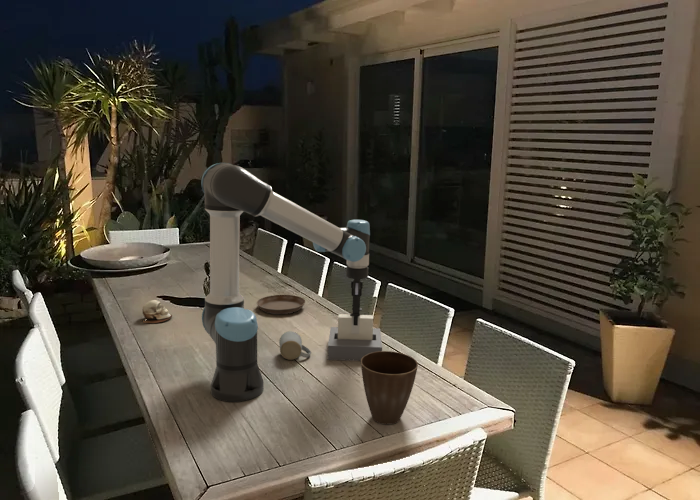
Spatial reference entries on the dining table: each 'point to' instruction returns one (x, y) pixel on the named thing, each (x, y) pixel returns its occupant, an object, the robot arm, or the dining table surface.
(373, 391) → the plant pot
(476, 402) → the dining table surface
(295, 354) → the ceramic mug
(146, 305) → the skull
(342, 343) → the plate
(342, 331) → the bar
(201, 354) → the dining table surface
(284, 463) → the dining table surface
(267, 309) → the plant saucer
